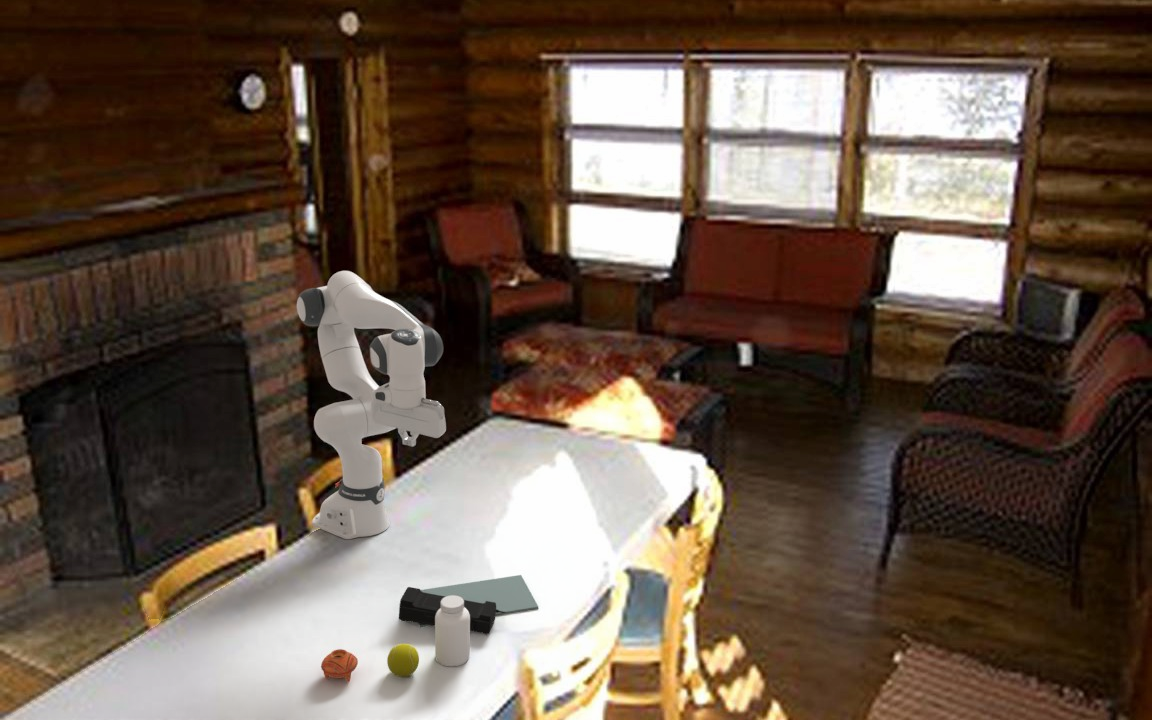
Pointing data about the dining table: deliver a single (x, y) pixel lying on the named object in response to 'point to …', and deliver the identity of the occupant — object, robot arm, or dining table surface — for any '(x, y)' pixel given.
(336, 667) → the pot
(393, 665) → the tennis ball
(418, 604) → the portable radio
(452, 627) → the pill bottle
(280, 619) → the dining table surface
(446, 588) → the mat
